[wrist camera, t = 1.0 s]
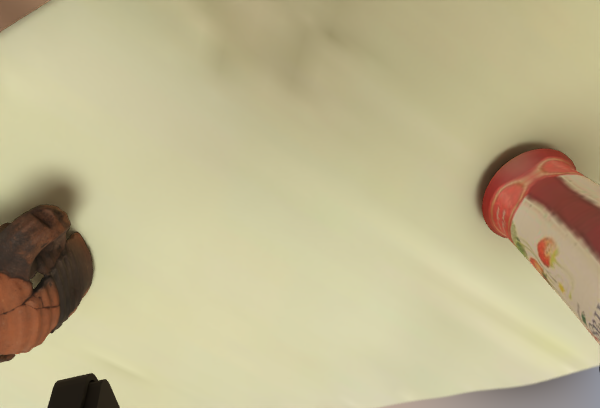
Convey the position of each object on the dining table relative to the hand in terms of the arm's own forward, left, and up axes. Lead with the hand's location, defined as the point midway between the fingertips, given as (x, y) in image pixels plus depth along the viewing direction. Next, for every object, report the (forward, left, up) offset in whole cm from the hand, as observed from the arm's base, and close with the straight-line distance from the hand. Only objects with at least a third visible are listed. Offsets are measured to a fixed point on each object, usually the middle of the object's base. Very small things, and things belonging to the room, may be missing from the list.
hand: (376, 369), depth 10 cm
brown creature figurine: (+18, +3, -25) cm, 31 cm away
